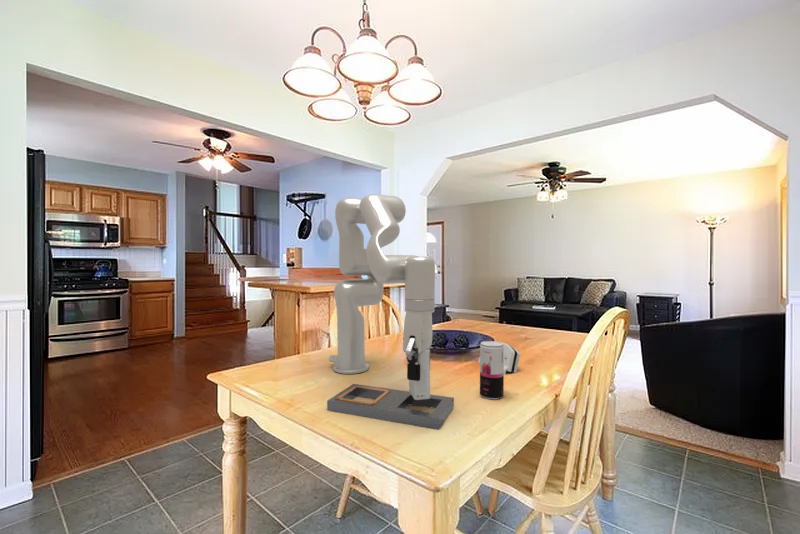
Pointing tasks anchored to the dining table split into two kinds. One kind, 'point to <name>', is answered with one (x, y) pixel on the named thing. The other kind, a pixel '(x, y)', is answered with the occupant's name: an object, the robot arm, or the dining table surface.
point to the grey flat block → (391, 405)
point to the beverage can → (491, 369)
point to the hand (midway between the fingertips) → (418, 374)
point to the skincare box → (421, 378)
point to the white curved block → (510, 358)
